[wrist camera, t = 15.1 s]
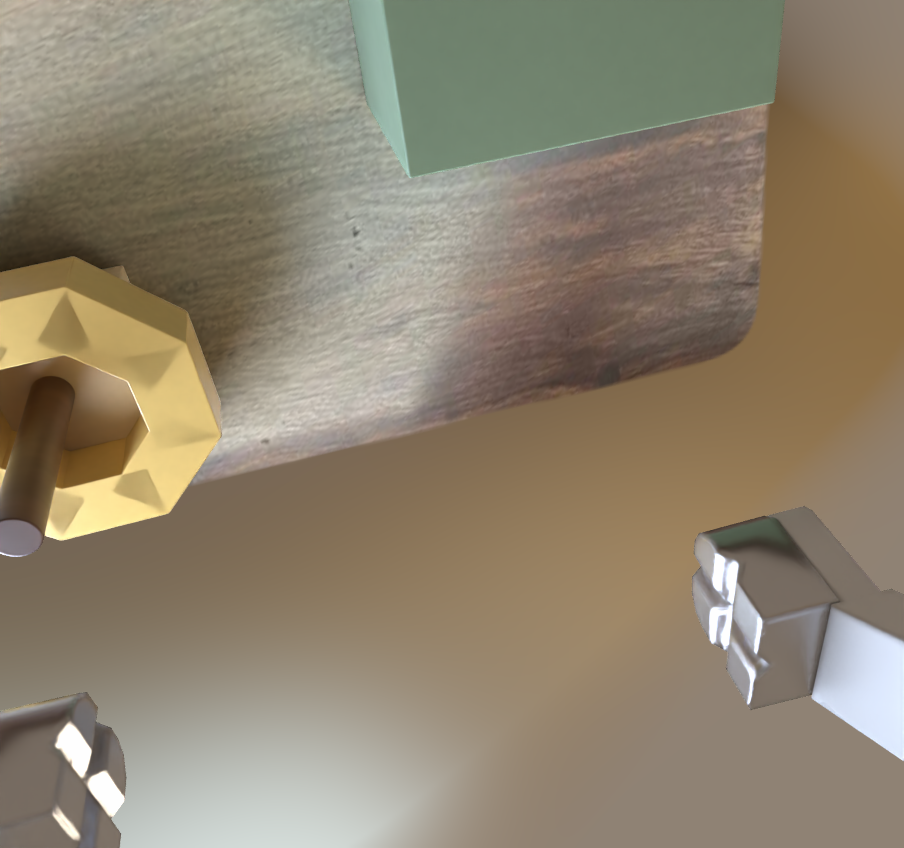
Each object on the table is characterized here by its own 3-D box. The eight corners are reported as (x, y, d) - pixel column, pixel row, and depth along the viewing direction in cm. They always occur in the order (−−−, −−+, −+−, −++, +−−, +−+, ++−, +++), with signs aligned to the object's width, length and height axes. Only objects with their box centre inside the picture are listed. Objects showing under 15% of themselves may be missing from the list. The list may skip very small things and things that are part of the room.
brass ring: (160, 236, 35) (157, 265, 32) (241, 458, 42) (243, 494, 39) (-142, 302, 33) (-167, 337, 31) (-5, 520, 40) (-17, 561, 38)
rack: (122, 264, 36) (97, 405, 28) (187, 429, 42) (183, 591, 33) (-96, 310, 35) (-195, 471, 27) (-1, 473, 41) (-57, 653, 32)
